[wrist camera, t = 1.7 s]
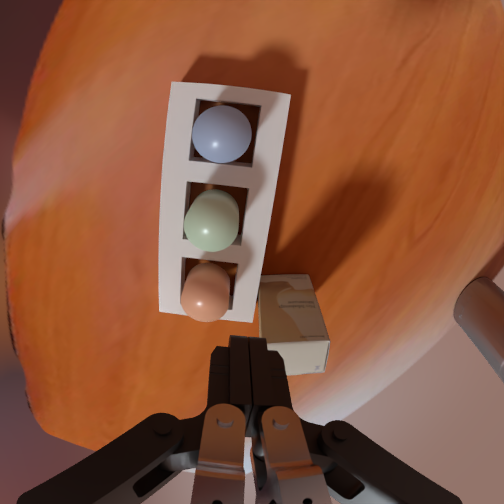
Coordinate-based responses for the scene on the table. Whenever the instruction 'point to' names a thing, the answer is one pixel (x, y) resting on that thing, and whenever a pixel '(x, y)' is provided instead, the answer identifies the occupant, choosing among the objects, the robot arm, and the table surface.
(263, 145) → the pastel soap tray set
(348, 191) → the table surface
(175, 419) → the robot arm
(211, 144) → the blue button
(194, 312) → the terracotta button
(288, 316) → the skincare box
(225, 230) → the green button
